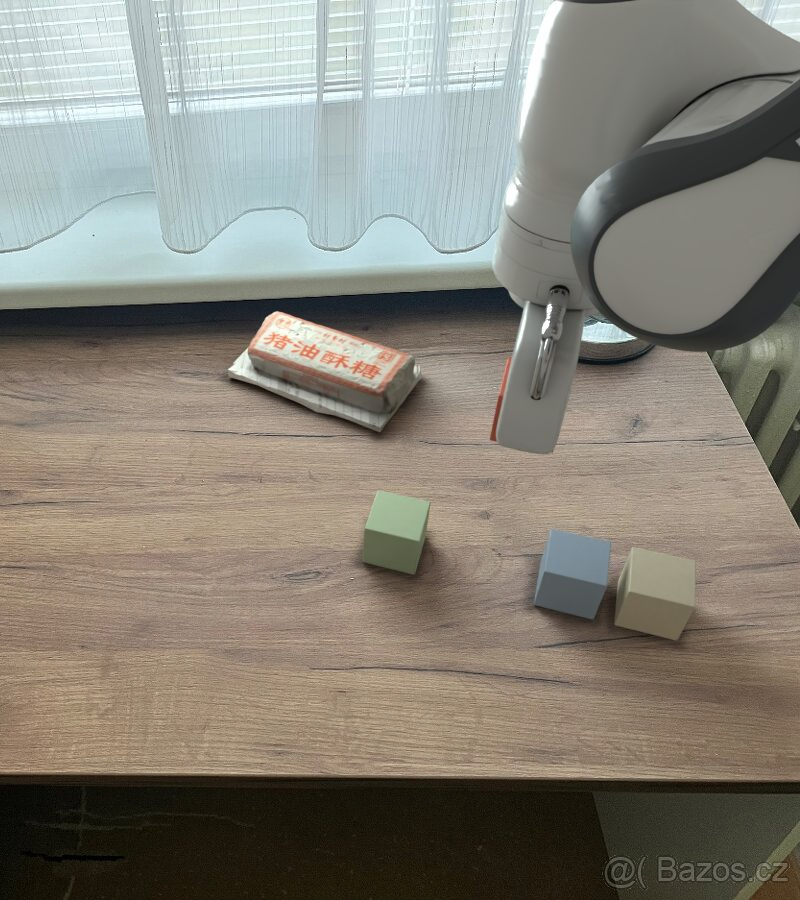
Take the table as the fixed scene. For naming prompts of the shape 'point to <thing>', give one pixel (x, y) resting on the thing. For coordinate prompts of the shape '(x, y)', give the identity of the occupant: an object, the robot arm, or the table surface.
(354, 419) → the packaged product
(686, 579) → the cream block
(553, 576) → the blue-grey block
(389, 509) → the sage block
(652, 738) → the table surface
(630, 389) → the table surface
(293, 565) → the table surface
